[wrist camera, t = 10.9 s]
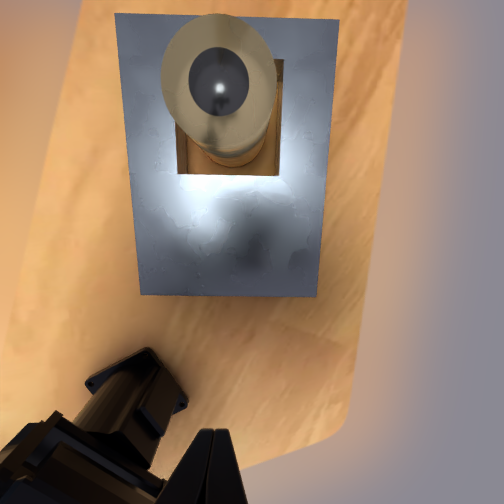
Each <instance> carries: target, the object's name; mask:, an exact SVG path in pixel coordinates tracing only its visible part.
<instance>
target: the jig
mask: <svg viewBox="0 0 504 504" xmlns="http://www.w3.org/2000/svg"><path fill="white" fill-rule="evenodd" d="M114 14H115V25H116V35H117V46H118V57H119V68H120V78H121V89H122V100H123V110H124V121H125V132H126V143H127V153H128V164H129V175H130V185H131V196H132V207H133V218H134V228H135V239H136V250H137V260H138V271H139V282H140V292H141V295H175V296H260V297H316V295H317V283H318V271H319V259H320V247H321V235H322V223H323V211H324V199H325V187H326V175H327V164H328V152H329V140H330V128H331V116H332V104H333V92H334V80H335V68H336V56H337V44H338V32H339V20H334V19H300V18H266V17H236V18H239V19H241V20H243V21H244V22H246V23H248V24H249V25H250V26H251V27H253V28H254V29H255V30H256V31H257V32H258V33H259V34H260V35H261V37H262V38H263V39H264V41H265V42H266V44H267V46H268V48H269V49H270V52H271V54H272V57H273V60H274V63H275V67H276V75H277V81H279V83H278V110H277V136H276V163H275V176H240V175H188V169H187V145H186V133H185V132H184V131H183V130H182V129H181V128H180V127H179V125H178V124H177V123H176V122H175V120H174V119H173V117H172V116H171V114H170V112H169V110H168V108H167V106H166V104H165V101H164V98H163V94H162V88H161V66H162V61H163V57H164V54H165V51H166V48H167V46H168V45H169V43H170V41H171V39H172V38H173V36H174V35H175V34H176V33H177V32H178V31H179V29H180V28H181V27H183V26H184V25H185V24H186V23H188V22H190V21H191V20H193V19H195V18H197V17H200V16H199V15H165V14H131V13H114Z"/></svg>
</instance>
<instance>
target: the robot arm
mask: <svg viewBox="0 0 504 504" xmlns="http://www.w3.org/2000/svg"><path fill="white" fill-rule="evenodd" d="M144 353H146V354H148V356H147V355H145V354H144ZM92 382H93V383H92ZM85 386H86V387H87V389H88V390H89V391H90V392H91V393H92V394H93V396H92V398H91V399H90V400H89V401H88V403H87V404H86V405H85V406H84V408H83V409H82V410H81V412H80V413H79V414H78V415H77V417H76V418H75V419H74V420H73V422H72V423H71V422H70V421H68V420H67V419H65V418H64V417H62V416H63V414H61V413H59V412H58V411H55V412H54V413H53V414H52V415H51V416H50V417H49V418H48V419H47V420H46V421H45V422H44V421H42V420H41V421H40V422H39V423H28V424H27V425H26V426H25V427H24V428H23V429H22V430H21V431H20V432H19V433H18V434H17V435H16V436H15V437H14V438H13V439H12V440H11V441H10V442H9V443H8V444H7V445H6V446H5V447H4V448H3V449H2V450H1V451H0V504H248V501H247V498H246V494H245V490H244V486H243V482H242V478H241V475H240V471H239V467H238V463H237V459H236V455H235V452H234V448H233V444H232V440H231V436H230V432H229V430H228V429H215V431H214V429H208V428H203V429H201V430H200V431H199V432H198V433H197V435H196V437H195V438H194V440H193V441H192V443H191V445H190V446H189V448H188V449H187V451H186V452H185V454H184V456H183V457H182V459H181V460H180V462H179V464H178V465H177V467H176V468H175V470H174V472H173V473H172V475H171V476H170V478H169V479H168V481H167V480H165V479H164V478H163V479H160V478H158V477H157V476H155V475H154V474H152V473H150V472H149V471H147V470H148V469H149V468H150V467H151V464H152V461H153V459H154V456H155V453H156V451H157V448H158V445H159V442H160V440H161V437H163V436H164V435H165V433H166V430H167V427H168V424H169V421H170V419H171V416H172V415H173V414H175V413H177V412H180V411H182V410H184V409H185V408H187V406H188V403H189V400H188V398H187V396H186V395H185V394H184V392H183V391H182V390H181V388H180V387H179V385H178V384H177V383H176V381H175V380H174V378H173V377H172V376H171V374H170V373H169V372H168V370H167V369H166V368H165V367H164V365H163V364H162V363H161V361H160V360H159V359H158V357H157V356H156V355H155V353H154V352H153V351H152V350H151V349H150V348H143V349H142V350H140V351H138V352H136V353H134V354H132V355H130V356H128V357H126V358H124V359H122V360H121V361H119V362H117V363H115V364H113V365H111V366H109V367H107V368H105V369H103V370H101V371H100V372H98V373H96V374H94V375H92V376H90V377H89V378H88V379H87V380H86V381H85ZM181 402H183V403H181Z"/></svg>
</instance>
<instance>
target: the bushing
mask: <svg viewBox="0 0 504 504" xmlns="http://www.w3.org/2000/svg"><path fill="white" fill-rule="evenodd" d="M161 88H162V94H163V98H164V101H165V104H166V106H167V108H168V110H169V112H170V114H171V116H172V117H173V119H174V120H175V122H176V123H177V124H178V125H179V127H180V128H181V129H182V130H183V131H184V132H185V133H186V134H187V135H188V136H189V137H190V138H191V139H192V140H193V141H194V142H195V143H196V144H197V145H198V146H199V147H200V148H201V149H202V150H203V151H204V152H205V153H206V154H207V155H208V156H209V157H210V158H211V159H212V160H213V161H215V162H216V163H218V164H220V165H223V166H227V167H238V166H242V165H245V164H247V163H249V162H250V161H251V160H253V159H254V158H255V157H256V156H257V154H258V153H259V152H260V150H261V148H262V146H263V143H264V140H265V136H266V132H267V128H268V124H269V120H270V116H271V112H272V108H273V104H274V100H275V96H276V89H277V75H276V67H275V63H274V60H273V57H272V54H271V52H270V49H269V48H268V46H267V44H266V42H265V41H264V39H263V38H262V37H261V35H260V34H259V33H258V32H257V31H256V30H255V29H254V28H253V27H251V26H250V25H249V24H248V23H246V22H244V21H243V20H241V19H239V18H236V17H234V16H230V15H226V14H208V15H203V16H200V17H197V18H195V19H193V20H191V21H190V22H188V23H186V24H185V25H184V26H183V27H181V28H180V29H179V31H178V32H177V33H176V34H175V35H174V36H173V38H172V39H171V41H170V43H169V45H168V46H167V48H166V51H165V54H164V57H163V61H162V66H161Z"/></svg>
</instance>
